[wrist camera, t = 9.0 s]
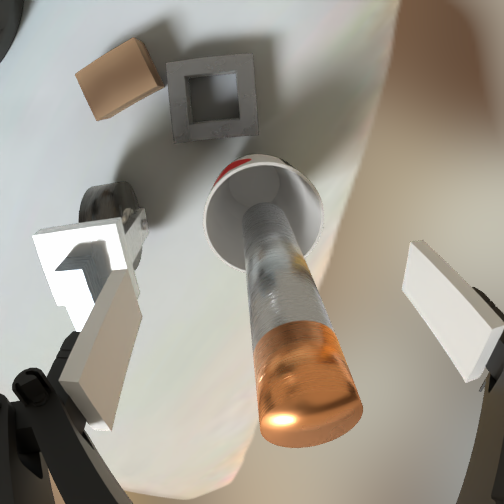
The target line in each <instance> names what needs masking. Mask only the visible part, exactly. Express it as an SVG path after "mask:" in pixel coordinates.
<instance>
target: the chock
mask: <svg viewBox="0 0 504 504" xmlns="http://www.w3.org/2000/svg"><path fill="white" fill-rule="evenodd" d="M75 76H76V78H77V80H78V83H79V85H80V87H81V89H82V91H83V93H84V96H85V98H86V100H87V102H88V104H89V106H90V108H91V110H92V112H93V115H94V117H95V119H96V121H99V120H103V119H108V118H111V117H112V116H114V115H116V114H117V113H119V112H121V111H122V110H124V109H126V108H127V107H129V106H131V105H133V104H134V103H136V102H138V101H140V100H142V99H143V98H145V97H147V96H149V95H151V94H153V93H154V92H156V91H158V90H160V89H162V88H164V87H165V86H164V84H163V82H162V80H161V78H160V76H159V74H158V72H157V70H156V67H155V65H154V63H153V61H152V59H151V57H150V55H149V53H148V51H147V49H146V47H145V45H144V43H143V42H141V41H139V40H138V39H136V38H134V37H133V38H131V39H130V40H128V41H126V42H124V43H123V44H121V45H119V46H118V47H116V48H114V49H113V50H111V51H109V52H108V53H106V54H104V55H103V56H101V57H100V58H98V59H97V60H95V61H94V62H92V63H91V64H89V65H88V66H86V67H85V68H83V69H82V70H80V71H79V72H77V73H76V74H75Z"/></svg>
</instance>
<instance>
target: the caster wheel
mask: <svg viewBox="0 0 504 504" xmlns="http://www.w3.org/2000/svg"><path fill="white" fill-rule="evenodd" d="M148 234H149V229H148V221H147V219H146V214H145V208H139V206H138V202H137V199H136V196H135V193H134V191H133V189H132V187H131V186H130V185H129V184H128V183H127V182H124V181H123V182H117V183H111V184H105V185H99V186H94V187H91V188H89V189H88V190H87V191H86V192H85V194H84V196H83V199H82V201H81V205H80V211H79V223H76V224H70V225H63V226H57V227H50V228H44V229H40V230H39V231H38V232H36V233H35V234H34V235H33V239H34V242H35V245H36V248H37V251H38V254H39V257H40V260H41V263H42V266H43V268H44V271H45V274H46V276H47V279H48V282H49V284H50V287H51V289H52V292H53V294H54V297H55V299H56V302H57V304H58V305H66V307H67V310H68V312H69V314H70V317H71V319H72V321H73V324H74V326H75V328H76V330H77V331H81V330H82V328H83V326H84V324H85V322H86V320H87V318H88V316H89V314H90V312H91V310H92V308H93V306H94V304H95V302H96V300H97V298H98V296H99V294H100V292H101V290H102V288H103V287H104V285H105V283H106V281H107V279H108V277H109V276H110V274H111V272H112V270H117V269H128V271H129V275H130V278H131V282H132V285H133V288H134V292H135V295H136V298H137V300H138V297H139V294H140V290H139V286H138V283H137V279H136V276H135V272H134V271H135V270H136V269H137V267H138V265H139V262H140V259H141V253H142V245H143V243H144V241H145V239H146V238H147V236H148Z"/></svg>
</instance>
